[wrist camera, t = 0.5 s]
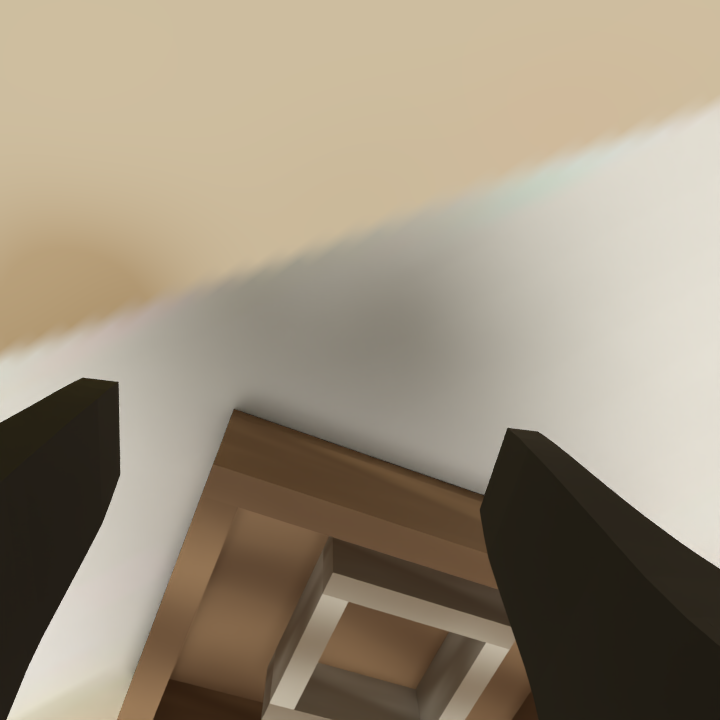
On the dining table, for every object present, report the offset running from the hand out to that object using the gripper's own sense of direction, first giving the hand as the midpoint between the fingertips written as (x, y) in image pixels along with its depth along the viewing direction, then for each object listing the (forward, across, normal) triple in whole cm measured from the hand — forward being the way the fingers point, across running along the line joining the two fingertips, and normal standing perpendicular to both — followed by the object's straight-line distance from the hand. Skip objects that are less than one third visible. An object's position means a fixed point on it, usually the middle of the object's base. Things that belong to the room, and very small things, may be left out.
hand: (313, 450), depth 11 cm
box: (+8, -5, +14) cm, 17 cm away
